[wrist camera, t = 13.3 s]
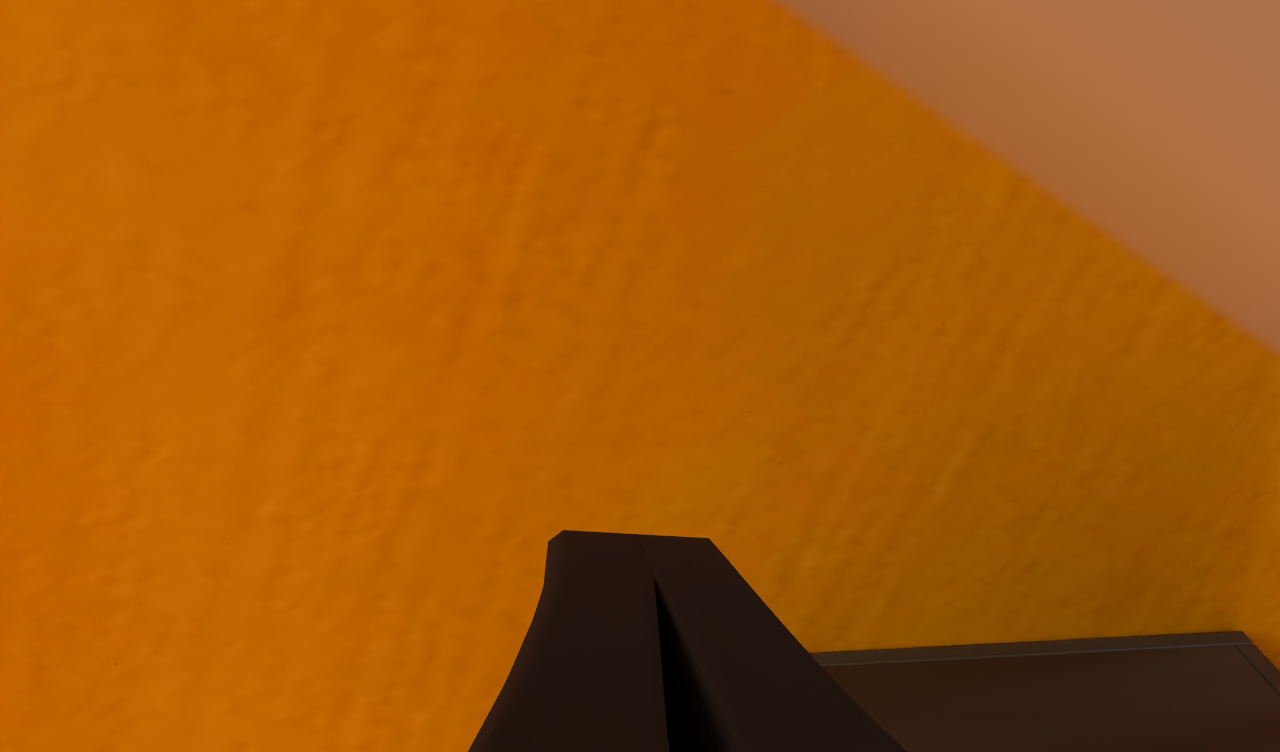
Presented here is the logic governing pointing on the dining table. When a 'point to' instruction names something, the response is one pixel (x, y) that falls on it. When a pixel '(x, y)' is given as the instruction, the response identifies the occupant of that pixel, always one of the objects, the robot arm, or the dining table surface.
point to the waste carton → (1070, 694)
